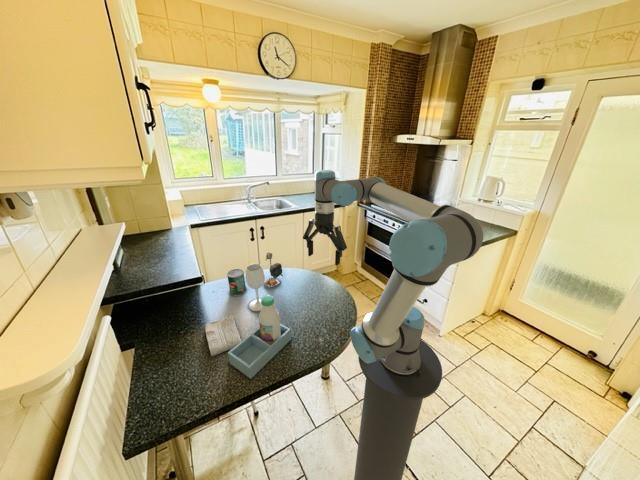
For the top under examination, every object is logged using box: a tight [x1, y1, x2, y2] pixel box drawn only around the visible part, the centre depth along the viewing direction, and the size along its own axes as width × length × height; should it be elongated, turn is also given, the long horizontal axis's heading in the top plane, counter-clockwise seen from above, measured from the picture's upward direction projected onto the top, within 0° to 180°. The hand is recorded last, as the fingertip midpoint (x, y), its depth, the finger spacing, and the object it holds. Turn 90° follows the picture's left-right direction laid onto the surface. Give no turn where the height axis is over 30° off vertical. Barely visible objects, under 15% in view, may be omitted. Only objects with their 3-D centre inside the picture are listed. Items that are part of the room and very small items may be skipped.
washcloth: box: [204, 315, 242, 357], centre depth 103 cm, size 12×18×3 cm, turn 30°
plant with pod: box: [264, 252, 284, 288], centre depth 135 cm, size 8×11×20 cm
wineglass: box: [245, 263, 266, 312], centre depth 117 cm, size 9×9×21 cm
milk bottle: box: [258, 295, 281, 345], centre depth 97 cm, size 8×8×20 cm
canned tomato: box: [226, 268, 247, 297], centre depth 130 cm, size 8×8×11 cm
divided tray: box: [227, 323, 292, 380], centre depth 96 cm, size 11×21×5 cm, turn 146°
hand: (323, 259), depth 108 cm, fingers open, 13 cm apart
